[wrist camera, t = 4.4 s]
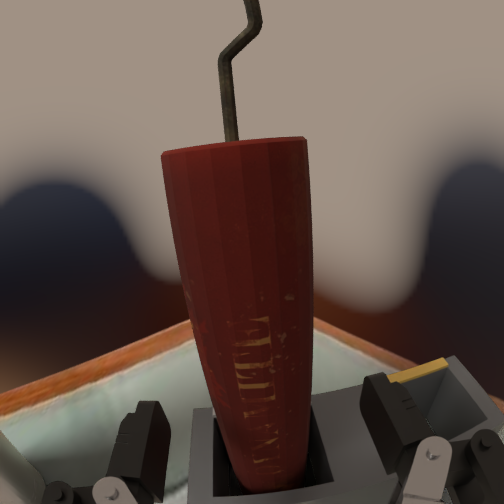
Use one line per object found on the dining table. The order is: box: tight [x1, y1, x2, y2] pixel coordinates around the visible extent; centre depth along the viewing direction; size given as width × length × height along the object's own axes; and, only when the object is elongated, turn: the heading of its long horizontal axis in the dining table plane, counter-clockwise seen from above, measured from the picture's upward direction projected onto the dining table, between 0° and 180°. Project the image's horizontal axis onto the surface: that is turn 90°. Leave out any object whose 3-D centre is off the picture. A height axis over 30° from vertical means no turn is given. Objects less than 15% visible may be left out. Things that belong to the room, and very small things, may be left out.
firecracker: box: [161, 0, 313, 496], centre depth 13 cm, size 5×5×30 cm
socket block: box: [187, 355, 504, 504], centre depth 17 cm, size 22×9×7 cm, turn 94°
